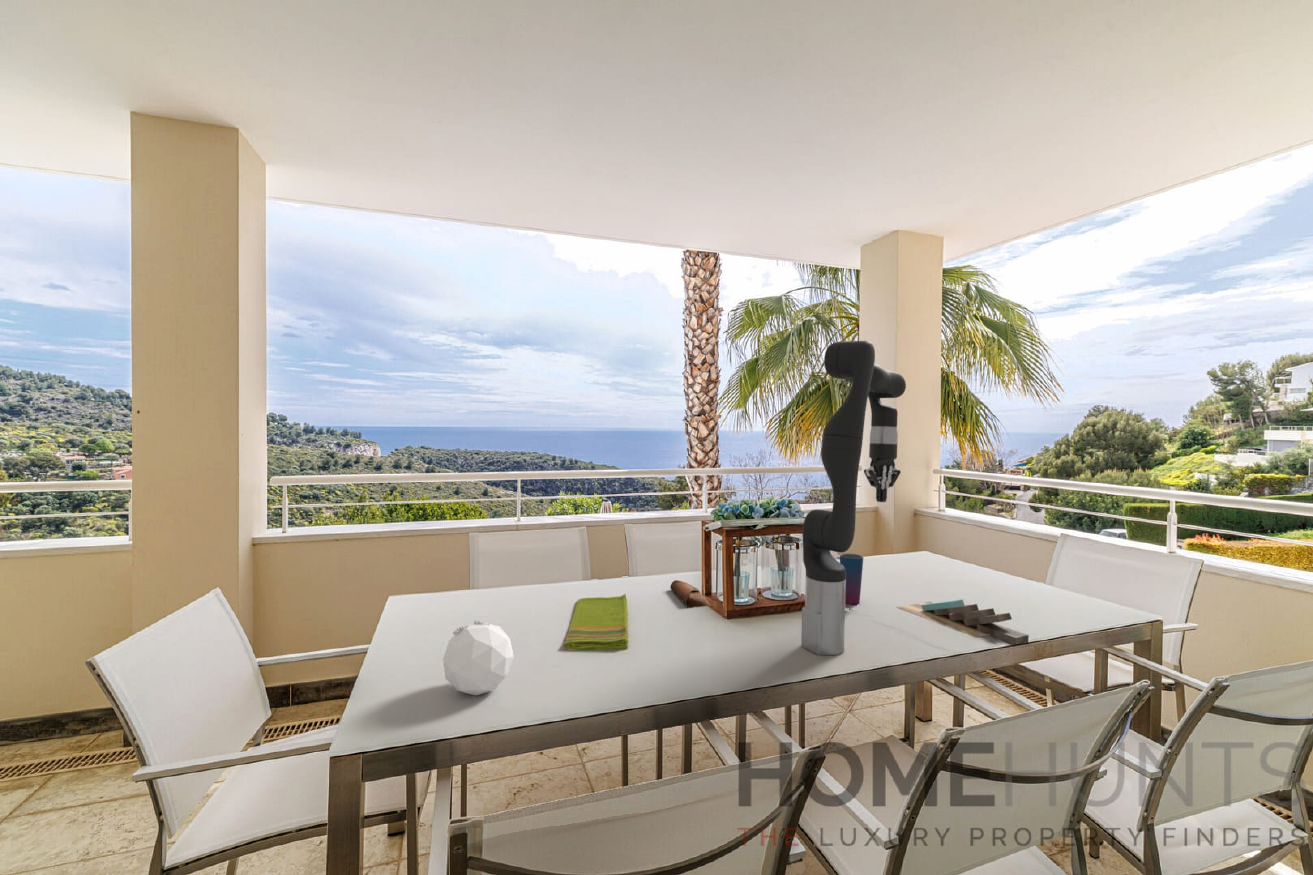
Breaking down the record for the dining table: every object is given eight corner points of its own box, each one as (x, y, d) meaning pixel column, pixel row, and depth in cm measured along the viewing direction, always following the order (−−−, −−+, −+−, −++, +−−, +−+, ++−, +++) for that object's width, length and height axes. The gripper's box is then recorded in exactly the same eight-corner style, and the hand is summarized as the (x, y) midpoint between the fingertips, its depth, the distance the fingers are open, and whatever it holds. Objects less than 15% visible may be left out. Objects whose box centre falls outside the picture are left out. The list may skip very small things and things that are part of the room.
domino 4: (965, 625, 147) (999, 621, 138) (963, 619, 147) (997, 615, 139) (977, 623, 149) (1012, 619, 141) (975, 616, 149) (1009, 612, 141)
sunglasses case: (713, 605, 164) (702, 587, 163) (693, 619, 162) (683, 600, 161) (694, 588, 181) (684, 571, 180) (676, 600, 180) (666, 583, 179)
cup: (858, 610, 161) (859, 559, 161) (835, 605, 165) (836, 556, 165) (865, 604, 167) (866, 555, 166) (842, 600, 171) (843, 552, 170)
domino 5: (976, 630, 144) (1015, 644, 135) (977, 624, 144) (1015, 637, 135) (989, 627, 146) (1028, 641, 137) (989, 621, 146) (1028, 634, 137)
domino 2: (935, 615, 155) (966, 612, 146) (933, 609, 155) (964, 606, 147) (947, 613, 157) (978, 610, 149) (945, 607, 158) (976, 604, 149)
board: (976, 641, 139) (976, 637, 139) (896, 610, 162) (896, 607, 162) (1011, 633, 145) (1011, 629, 145) (929, 604, 168) (929, 601, 168)
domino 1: (922, 610, 159) (952, 607, 150) (921, 605, 159) (950, 601, 151) (934, 608, 161) (964, 605, 152) (933, 602, 161) (962, 599, 153)
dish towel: (563, 652, 130) (563, 639, 130) (576, 603, 165) (576, 593, 165) (628, 652, 131) (628, 638, 130) (627, 603, 166) (627, 593, 166)
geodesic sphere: (432, 688, 98) (480, 618, 103) (415, 661, 109) (458, 599, 114) (495, 717, 105) (536, 651, 110) (472, 689, 116) (511, 630, 121)
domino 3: (950, 620, 151) (983, 617, 142) (948, 614, 151) (980, 610, 143) (962, 618, 153) (995, 614, 144) (960, 612, 153) (993, 608, 145)
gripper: (877, 442, 154) (875, 503, 154) (910, 443, 160) (907, 502, 160) (856, 441, 161) (854, 500, 161) (888, 442, 167) (886, 499, 167)
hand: (881, 501), depth 160 cm, fingers closed
